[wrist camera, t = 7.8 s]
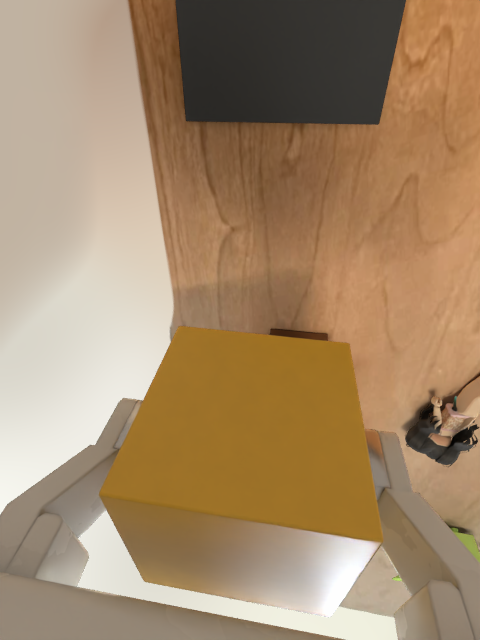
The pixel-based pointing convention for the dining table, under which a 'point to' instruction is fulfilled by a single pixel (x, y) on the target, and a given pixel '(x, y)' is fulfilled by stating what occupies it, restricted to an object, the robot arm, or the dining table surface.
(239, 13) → the mat
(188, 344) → the top block
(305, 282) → the dining table surface
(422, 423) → the toy figure
